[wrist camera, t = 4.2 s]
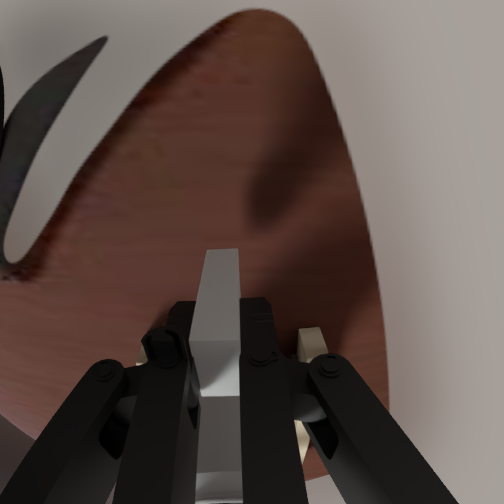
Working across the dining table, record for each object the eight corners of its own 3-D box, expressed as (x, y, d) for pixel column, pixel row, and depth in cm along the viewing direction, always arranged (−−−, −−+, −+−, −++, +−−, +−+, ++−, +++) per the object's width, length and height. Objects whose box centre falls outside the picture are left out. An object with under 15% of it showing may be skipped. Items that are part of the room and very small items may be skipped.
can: (274, 326, 20) (303, 492, 9) (288, 389, 23) (311, 516, 12) (172, 344, 20) (144, 498, 9) (204, 402, 23) (198, 525, 12)
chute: (141, 334, 20) (130, 362, 17) (323, 326, 20) (334, 355, 17) (202, 479, 32) (202, 495, 29) (293, 475, 33) (295, 491, 30)
